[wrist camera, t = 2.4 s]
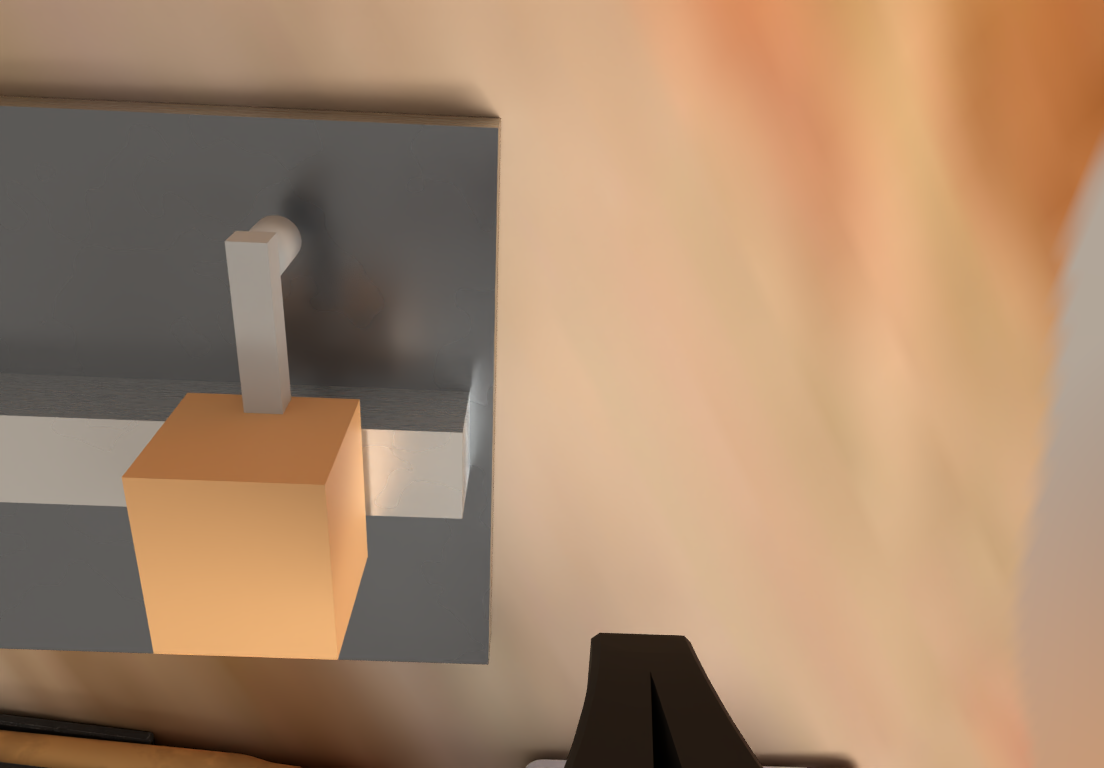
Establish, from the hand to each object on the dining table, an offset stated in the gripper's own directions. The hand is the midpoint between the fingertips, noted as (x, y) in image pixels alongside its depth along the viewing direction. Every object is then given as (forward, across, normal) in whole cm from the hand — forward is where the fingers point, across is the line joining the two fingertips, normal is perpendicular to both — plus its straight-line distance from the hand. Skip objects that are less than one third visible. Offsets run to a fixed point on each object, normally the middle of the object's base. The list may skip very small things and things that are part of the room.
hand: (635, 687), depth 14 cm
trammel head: (+6, +6, -2) cm, 9 cm away
